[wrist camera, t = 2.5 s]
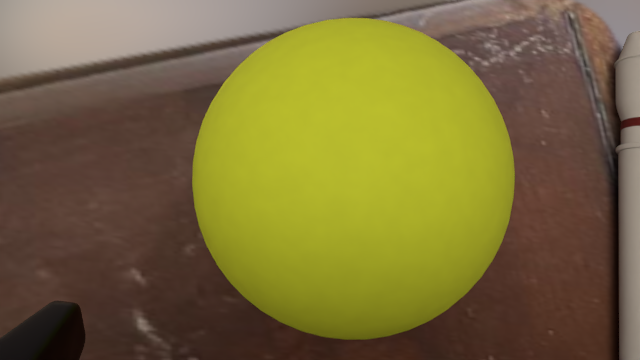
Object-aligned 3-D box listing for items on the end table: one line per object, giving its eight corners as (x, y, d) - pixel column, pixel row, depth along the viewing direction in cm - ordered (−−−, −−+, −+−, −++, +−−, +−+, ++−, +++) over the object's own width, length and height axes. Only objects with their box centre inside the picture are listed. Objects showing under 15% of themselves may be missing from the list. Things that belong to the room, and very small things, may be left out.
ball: (445, 81, 17) (546, -64, 10) (474, 317, 15) (615, 343, 8) (214, 94, 16) (149, -46, 9) (224, 336, 15) (155, 380, 8)
